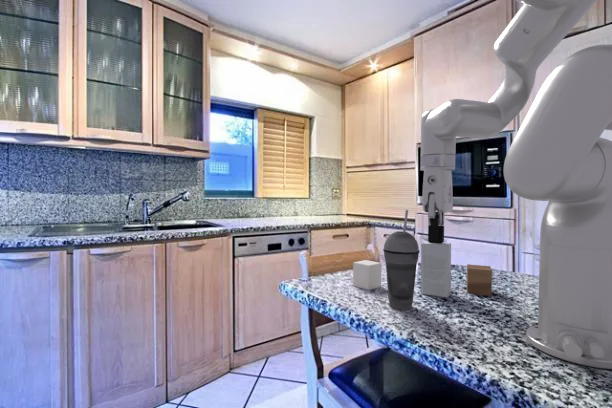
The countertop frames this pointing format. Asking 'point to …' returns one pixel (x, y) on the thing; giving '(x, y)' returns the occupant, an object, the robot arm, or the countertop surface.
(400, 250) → the beverage cup
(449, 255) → the skincare box
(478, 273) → the walnut block
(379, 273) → the off-white block
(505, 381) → the countertop surface
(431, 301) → the countertop surface
